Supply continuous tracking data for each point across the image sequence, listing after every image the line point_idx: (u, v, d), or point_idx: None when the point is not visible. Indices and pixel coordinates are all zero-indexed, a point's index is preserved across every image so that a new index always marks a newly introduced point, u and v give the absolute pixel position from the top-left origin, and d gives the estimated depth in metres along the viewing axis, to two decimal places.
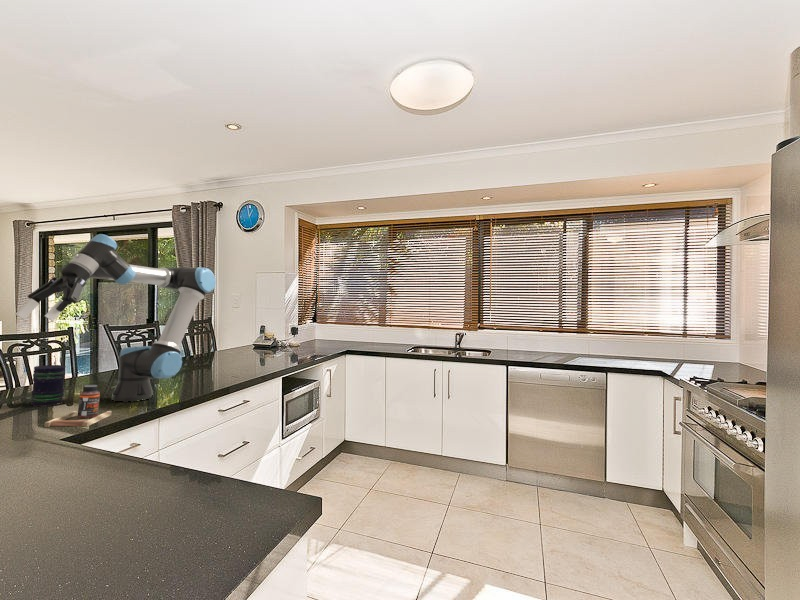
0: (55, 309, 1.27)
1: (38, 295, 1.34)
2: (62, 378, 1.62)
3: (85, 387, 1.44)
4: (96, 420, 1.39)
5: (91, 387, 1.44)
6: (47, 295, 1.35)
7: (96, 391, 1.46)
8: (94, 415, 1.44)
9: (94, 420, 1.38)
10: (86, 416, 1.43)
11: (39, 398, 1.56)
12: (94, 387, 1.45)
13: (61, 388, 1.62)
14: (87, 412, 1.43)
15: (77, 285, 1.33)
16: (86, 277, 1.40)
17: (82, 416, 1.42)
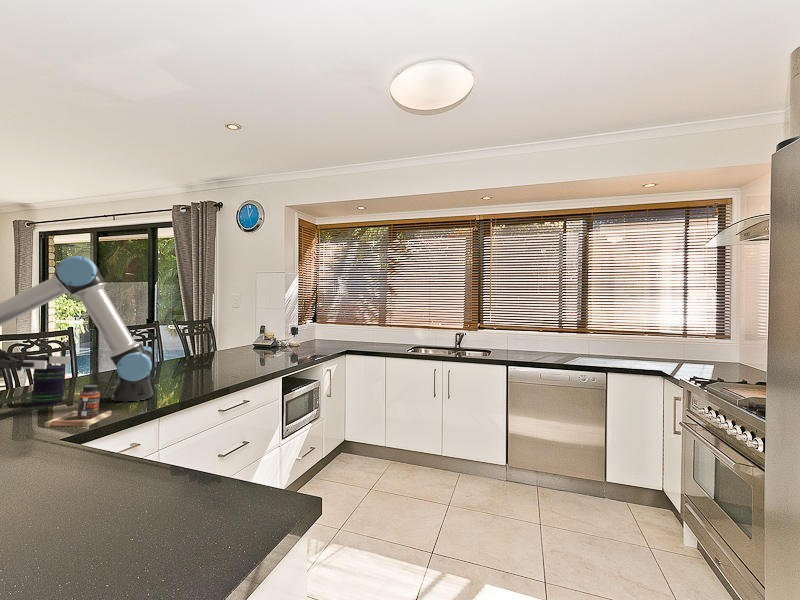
0: (34, 366, 1.36)
1: None
2: (62, 378, 1.62)
3: (85, 387, 1.44)
4: (96, 420, 1.39)
5: (91, 387, 1.44)
6: (36, 358, 1.47)
7: (96, 391, 1.46)
8: (94, 415, 1.44)
9: (94, 420, 1.38)
10: (86, 416, 1.43)
11: (39, 398, 1.56)
12: (94, 387, 1.45)
13: (61, 388, 1.62)
14: (87, 412, 1.43)
15: None
16: None
17: (82, 416, 1.42)
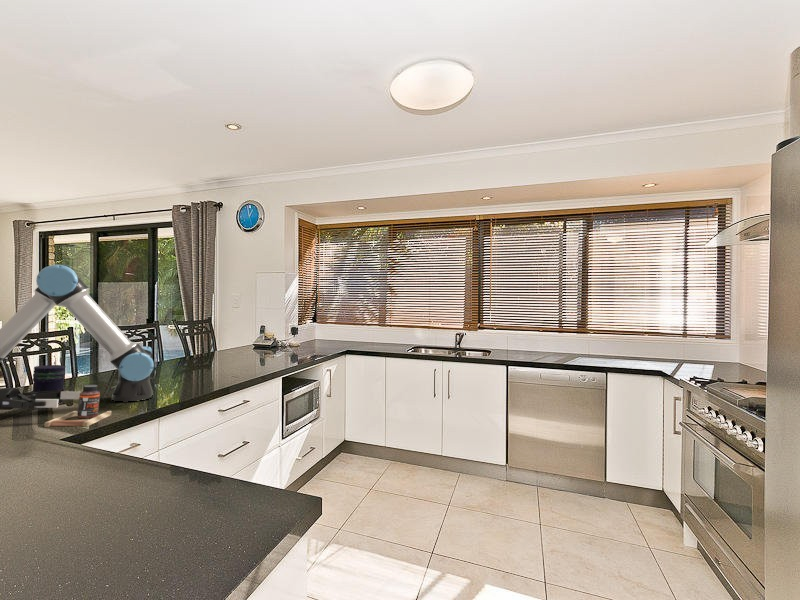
0: (46, 405, 1.36)
1: (53, 397, 1.48)
2: (62, 378, 1.62)
3: (85, 387, 1.44)
4: (96, 420, 1.39)
5: (91, 387, 1.44)
6: (48, 394, 1.47)
7: (96, 391, 1.46)
8: (94, 415, 1.44)
9: (94, 420, 1.38)
10: (86, 416, 1.43)
11: None
12: (94, 387, 1.45)
13: (61, 388, 1.62)
14: (87, 412, 1.43)
15: (11, 406, 1.34)
16: (1, 395, 1.37)
17: (82, 416, 1.42)
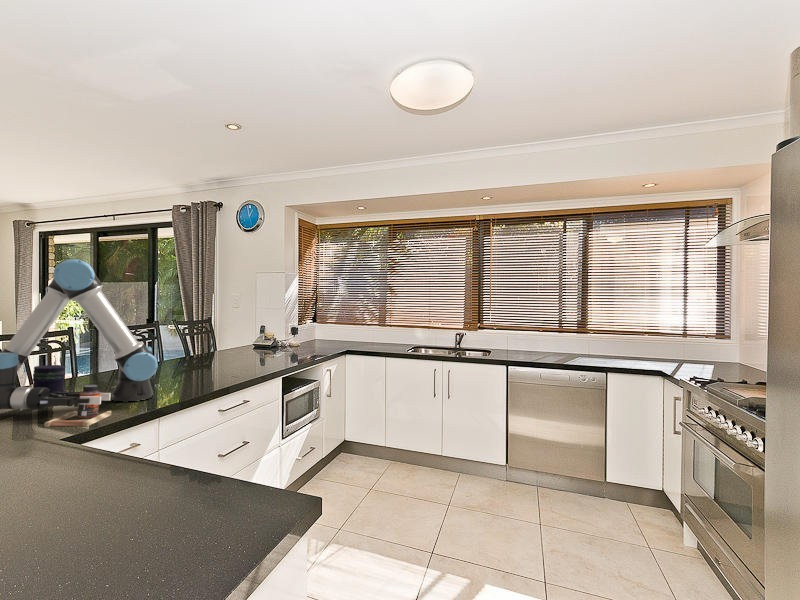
0: (89, 402, 1.42)
1: None
2: (62, 378, 1.62)
3: (85, 387, 1.44)
4: (96, 420, 1.39)
5: (91, 387, 1.44)
6: (76, 395, 1.47)
7: (96, 391, 1.46)
8: (94, 415, 1.44)
9: (94, 420, 1.38)
10: (86, 416, 1.43)
11: None
12: (94, 387, 1.45)
13: (61, 388, 1.62)
14: (87, 412, 1.43)
15: (51, 404, 1.37)
16: (33, 394, 1.39)
17: (82, 416, 1.42)
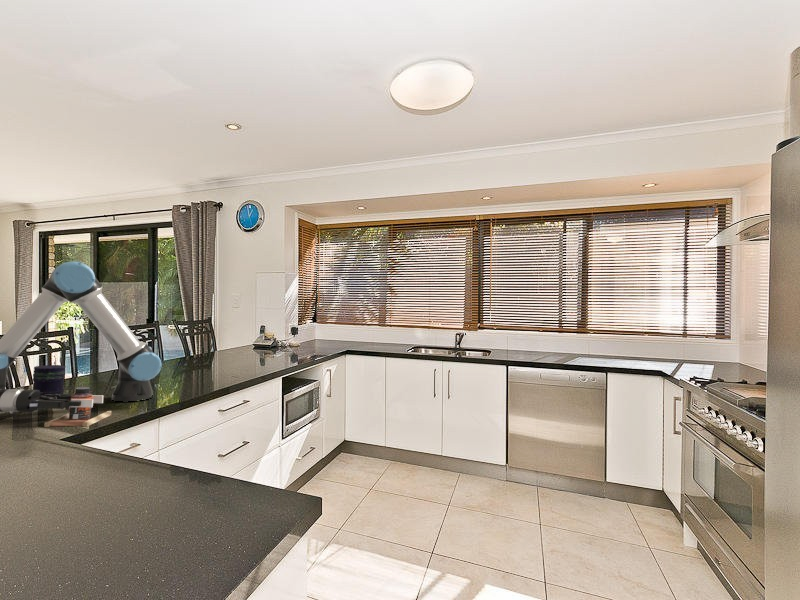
0: (81, 405, 1.38)
1: None
2: (62, 378, 1.62)
3: (77, 389, 1.39)
4: (96, 420, 1.39)
5: (83, 389, 1.40)
6: (68, 397, 1.42)
7: (88, 393, 1.41)
8: (86, 418, 1.40)
9: (94, 420, 1.38)
10: (78, 419, 1.38)
11: None
12: (86, 389, 1.41)
13: (61, 388, 1.62)
14: (79, 416, 1.38)
15: (41, 407, 1.33)
16: (22, 397, 1.35)
17: (73, 419, 1.38)
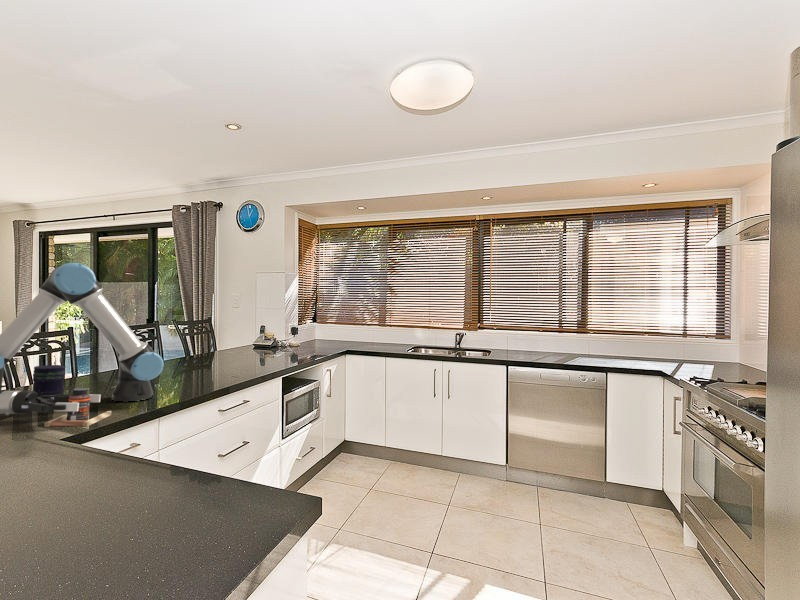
0: (66, 409, 1.32)
1: None
2: (62, 378, 1.62)
3: (74, 390, 1.37)
4: (96, 420, 1.39)
5: (81, 390, 1.38)
6: (66, 397, 1.43)
7: (86, 395, 1.39)
8: None
9: (94, 420, 1.38)
10: None
11: None
12: (84, 390, 1.39)
13: (61, 388, 1.62)
14: (76, 417, 1.36)
15: (30, 409, 1.30)
16: (19, 398, 1.33)
17: None
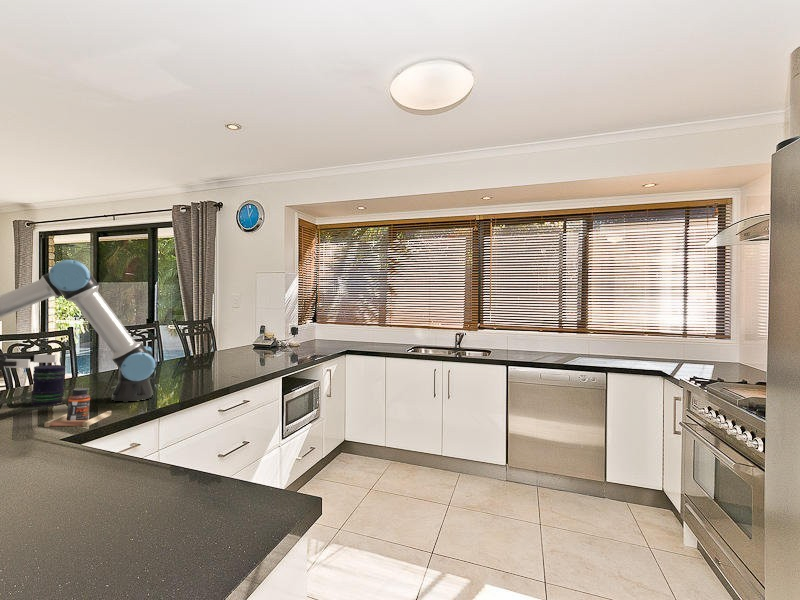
0: (16, 365, 1.31)
1: None
2: (62, 378, 1.62)
3: (74, 390, 1.37)
4: (96, 420, 1.39)
5: (81, 390, 1.38)
6: (20, 357, 1.41)
7: (86, 395, 1.39)
8: None
9: (94, 420, 1.38)
10: None
11: (39, 398, 1.56)
12: (84, 390, 1.39)
13: (61, 388, 1.62)
14: (76, 417, 1.36)
15: None
16: None
17: None
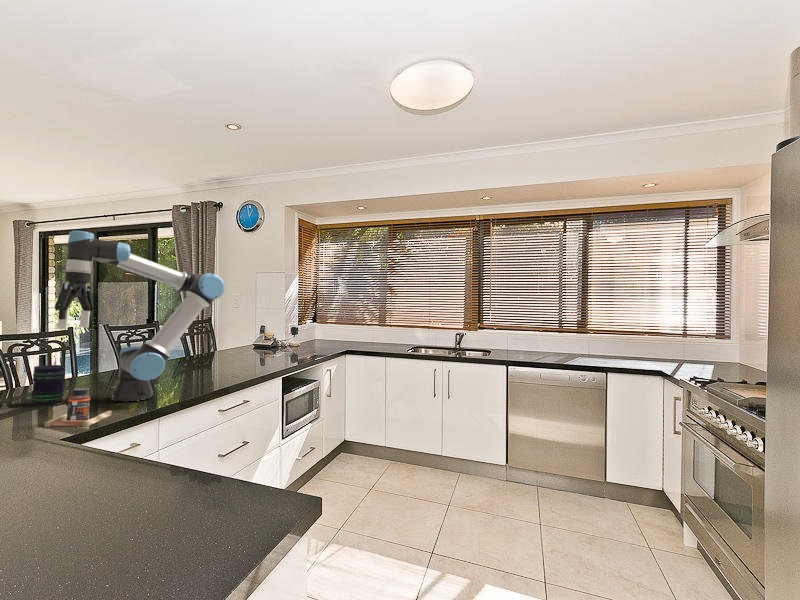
0: (60, 319, 1.43)
1: (82, 306, 1.56)
2: (62, 378, 1.62)
3: (74, 390, 1.37)
4: (96, 420, 1.39)
5: (81, 390, 1.38)
6: (85, 302, 1.56)
7: (86, 395, 1.39)
8: None
9: (94, 420, 1.38)
10: None
11: (39, 398, 1.56)
12: (84, 390, 1.39)
13: (61, 388, 1.62)
14: (76, 417, 1.36)
15: (61, 291, 1.43)
16: (78, 277, 1.48)
17: None
